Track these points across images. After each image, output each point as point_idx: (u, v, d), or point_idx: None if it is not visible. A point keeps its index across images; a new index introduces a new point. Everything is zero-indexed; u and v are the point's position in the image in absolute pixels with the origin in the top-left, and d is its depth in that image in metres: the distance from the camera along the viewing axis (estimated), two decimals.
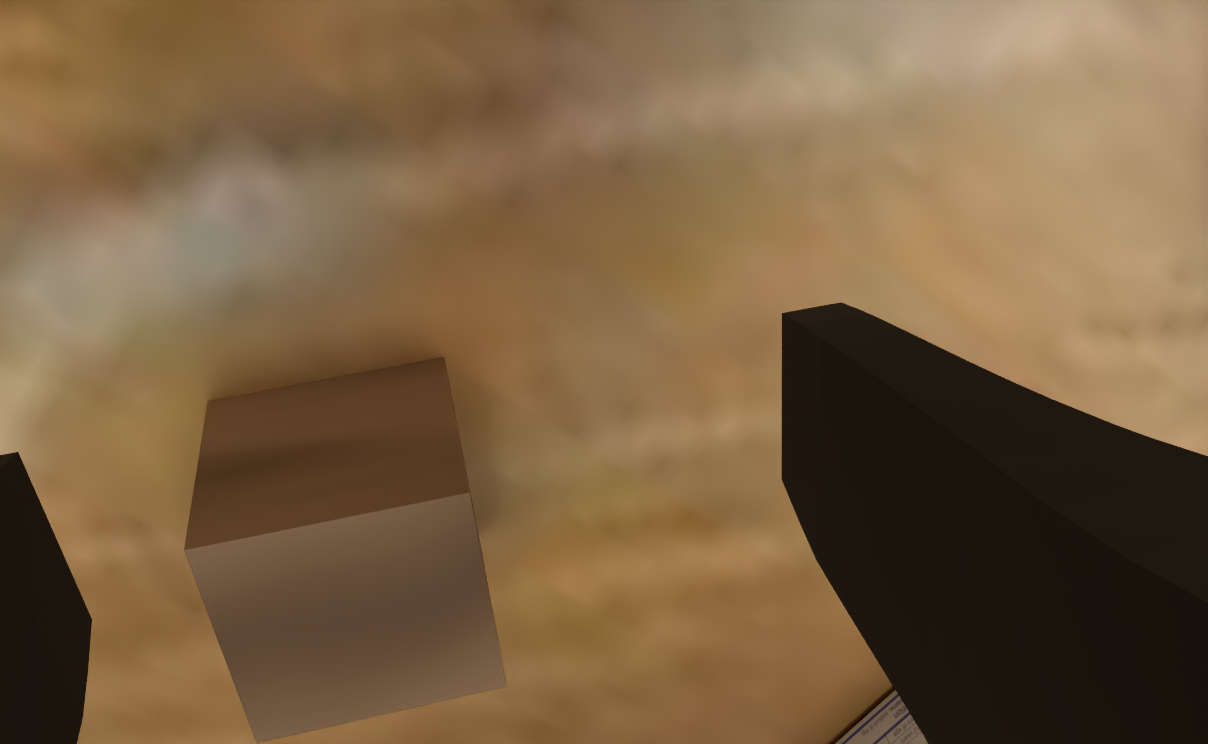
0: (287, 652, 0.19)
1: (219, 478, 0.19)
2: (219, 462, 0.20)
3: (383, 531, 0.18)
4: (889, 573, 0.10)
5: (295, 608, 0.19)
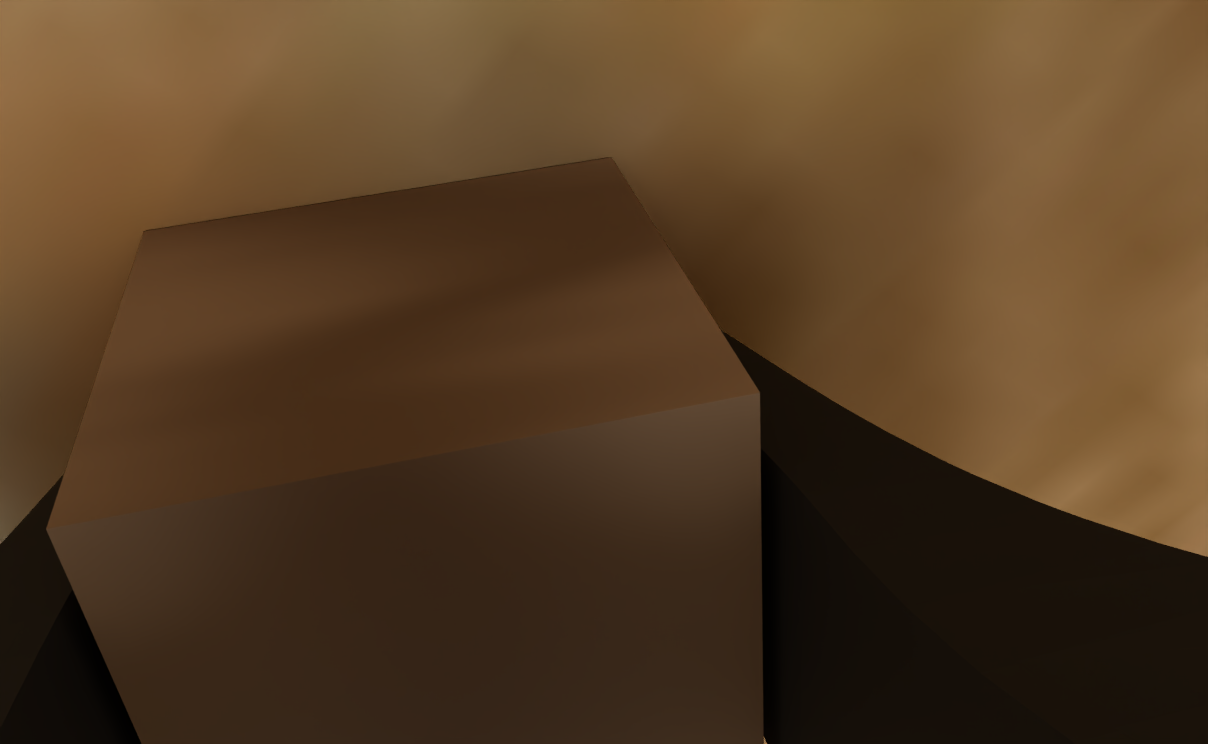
0: None
1: None
2: None
3: (183, 684, 0.08)
4: None
5: None
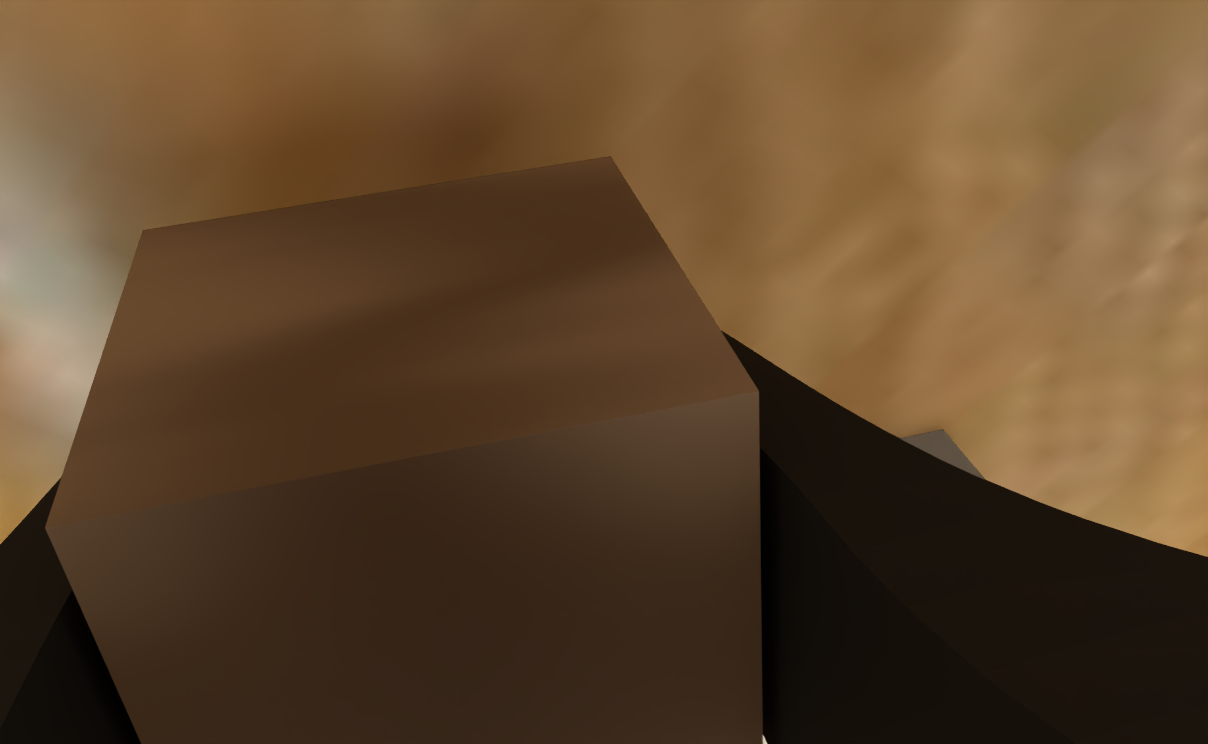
0: None
1: None
2: None
3: (182, 682, 0.08)
4: None
5: None
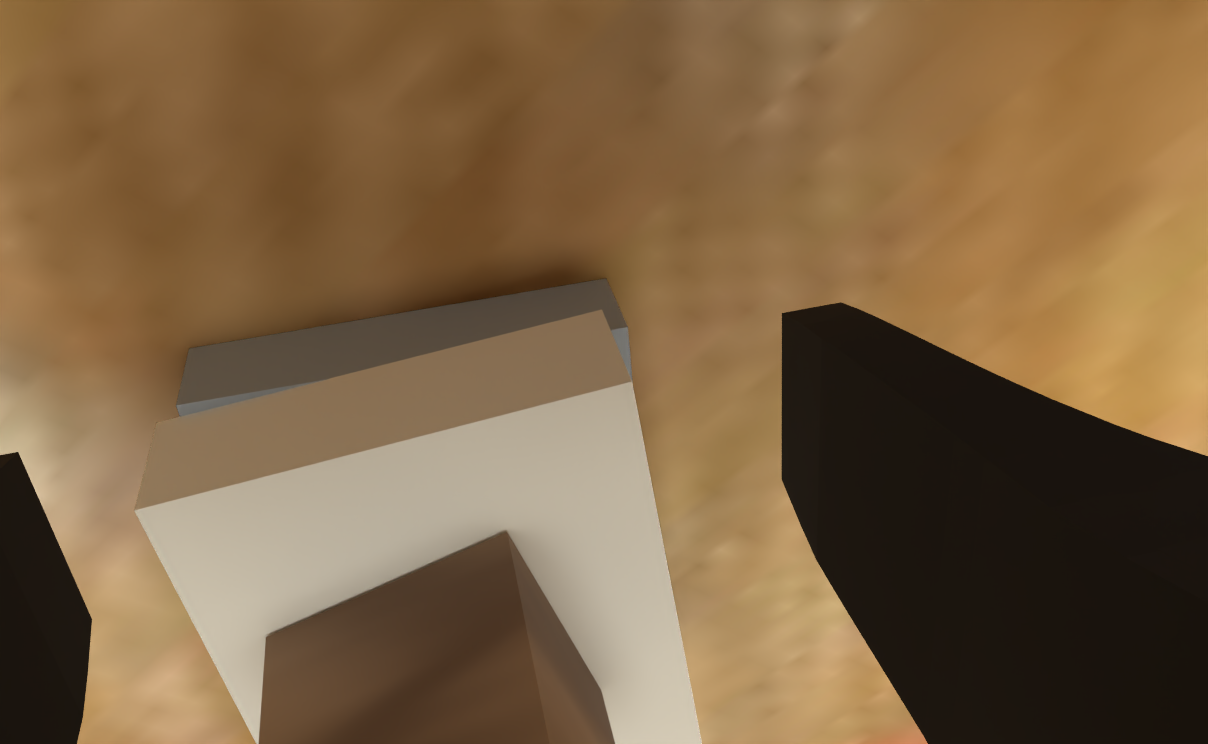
0: None
1: None
2: None
3: None
4: (889, 573, 0.10)
5: None
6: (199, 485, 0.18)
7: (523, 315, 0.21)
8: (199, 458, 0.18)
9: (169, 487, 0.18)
